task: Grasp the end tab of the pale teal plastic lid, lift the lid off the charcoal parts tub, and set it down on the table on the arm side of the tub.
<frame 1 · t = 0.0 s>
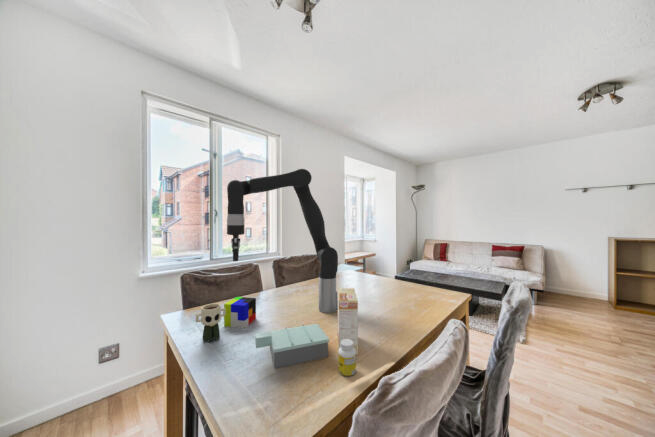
hand: (235, 259, 108), 29 cm above the table, fingers open, 8 cm apart
lid: (298, 338, 83), point 6 cm above the table, touching tub
puzzle toy: (240, 322, 109), on the table
steel bushing: (287, 352, 83), point 1 cm above the table, touching tub
tub: (298, 355, 83), on the table
character mug: (211, 339, 94), on the table
supplement bottle: (347, 374, 73), on the table
walnut block: (311, 351, 83), point 1 cm above the table, touching tub
coffeecake box: (347, 345, 89), on the table
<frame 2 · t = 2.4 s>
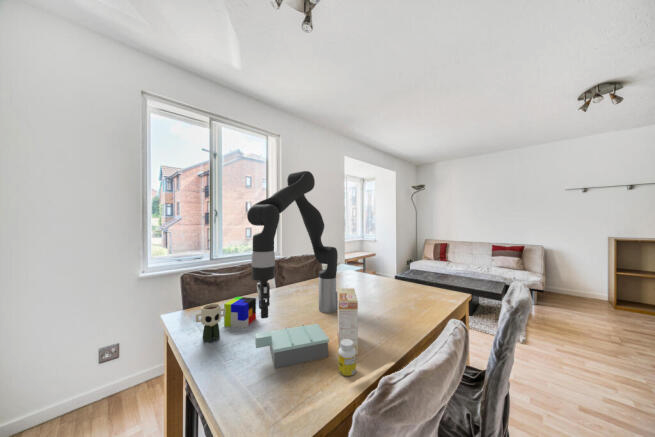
hand: (263, 312, 78), 17 cm above the table, fingers open, 8 cm apart
nothing on the table moved.
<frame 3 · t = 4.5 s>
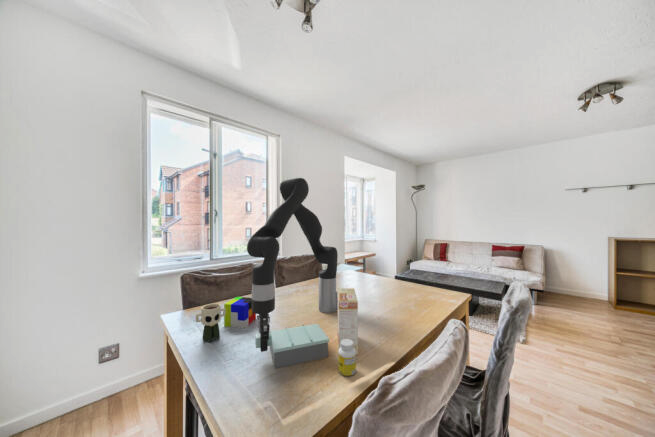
hand: (263, 347, 78), 5 cm above the table, fingers closed on lid, 3 cm apart
lid: (298, 338, 83), point 6 cm above the table, touching gripper, tub
everything else where it was.
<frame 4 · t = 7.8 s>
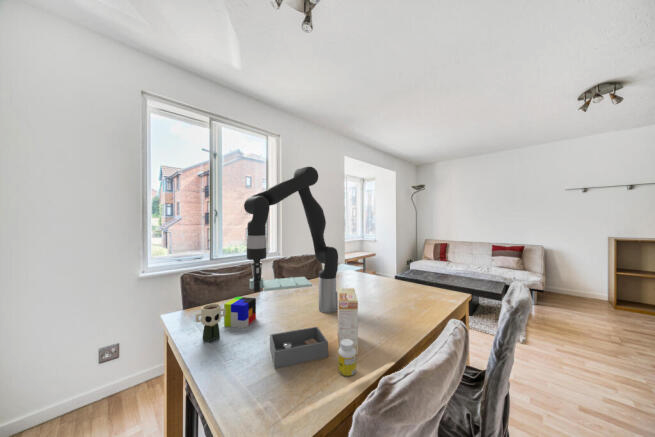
hand: (256, 289, 93), 20 cm above the table, fingers closed on lid, 3 cm apart
lid: (286, 284, 97), point 21 cm above the table, touching gripper
everything else where it was.
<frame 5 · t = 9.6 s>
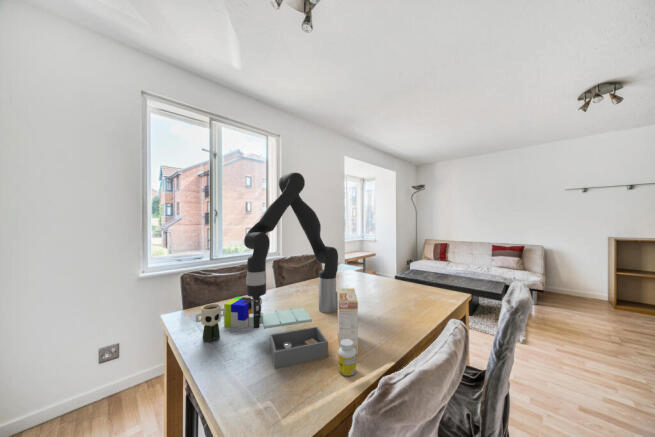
hand: (256, 325, 93), 6 cm above the table, fingers closed on lid, 3 cm apart
lid: (285, 318, 97), point 7 cm above the table, touching gripper
everything else where it was.
when the fingers open (1 cm above the table, at t = 11.2 s): lid drops 2 cm, on the table.
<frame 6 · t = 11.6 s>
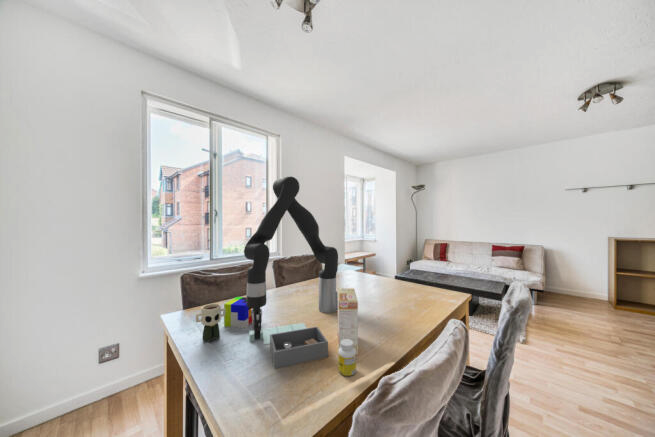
hand: (256, 334, 93), 2 cm above the table, fingers open, 7 cm apart
lid: (285, 334, 97), on the table
everything else where it was.
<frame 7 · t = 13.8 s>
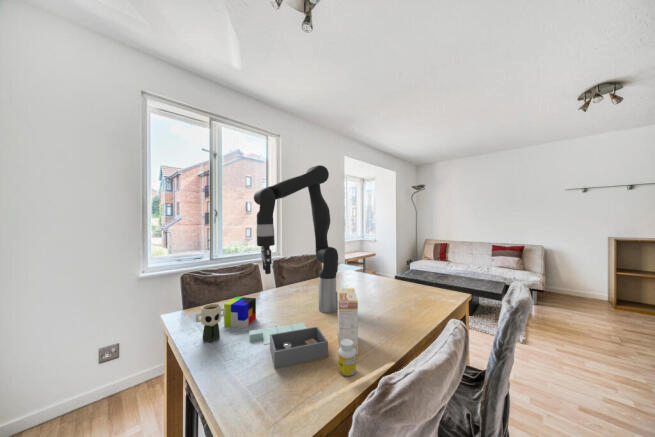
hand: (266, 271, 103), 25 cm above the table, fingers open, 8 cm apart
nothing on the table moved.
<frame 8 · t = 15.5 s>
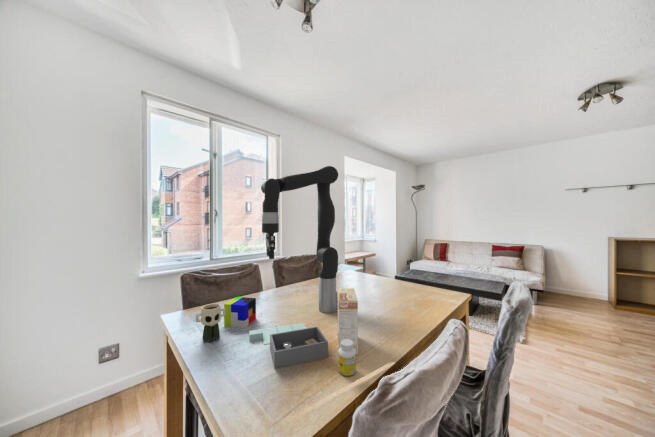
hand: (270, 257, 109), 30 cm above the table, fingers open, 8 cm apart
nothing on the table moved.
at the end: lid inside the target area (0.4 cm from its centre), on the table; lid touching table; the gripper is holding nothing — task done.
